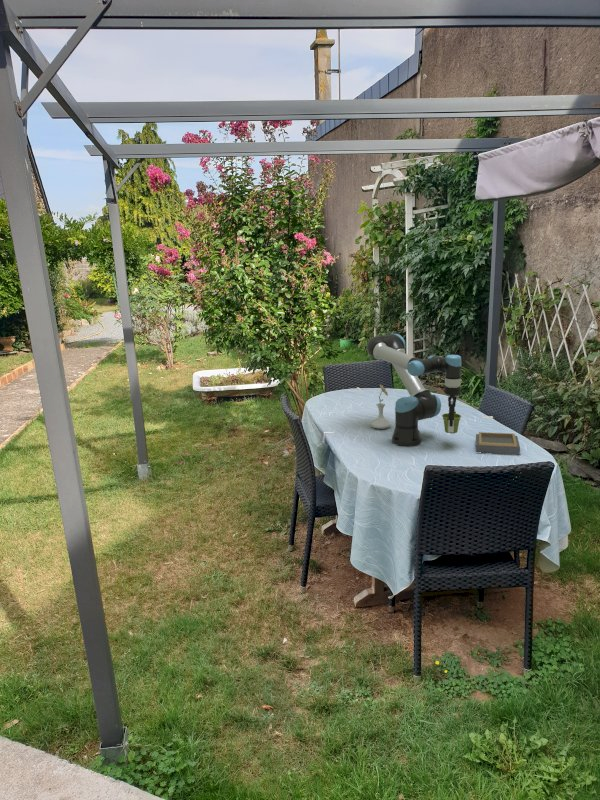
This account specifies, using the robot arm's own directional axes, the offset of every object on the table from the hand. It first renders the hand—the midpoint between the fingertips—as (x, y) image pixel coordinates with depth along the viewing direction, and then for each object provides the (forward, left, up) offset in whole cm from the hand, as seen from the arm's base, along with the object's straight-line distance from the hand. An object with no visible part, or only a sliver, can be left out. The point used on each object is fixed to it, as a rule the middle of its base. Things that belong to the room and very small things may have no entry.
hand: (451, 428), depth 289 cm
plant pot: (0, 0, -2) cm, 2 cm away
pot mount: (+22, 0, -9) cm, 24 cm away
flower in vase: (-40, +27, -9) cm, 49 cm away
